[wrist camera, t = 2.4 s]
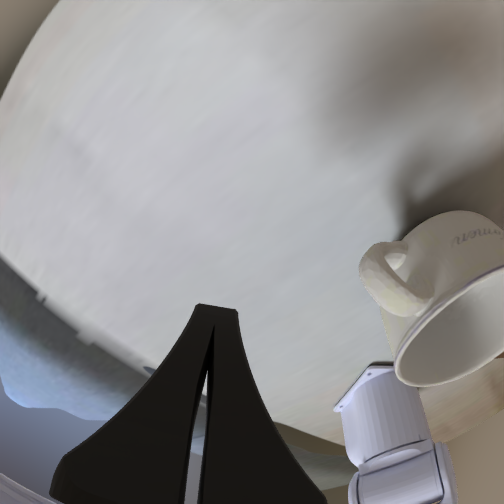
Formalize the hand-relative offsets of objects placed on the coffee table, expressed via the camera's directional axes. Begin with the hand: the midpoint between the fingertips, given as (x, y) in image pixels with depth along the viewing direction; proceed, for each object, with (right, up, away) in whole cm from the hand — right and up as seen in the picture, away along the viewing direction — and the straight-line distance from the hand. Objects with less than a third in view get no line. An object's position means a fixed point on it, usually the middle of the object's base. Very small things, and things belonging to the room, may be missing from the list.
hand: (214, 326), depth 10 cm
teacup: (+13, +3, +9) cm, 16 cm away
